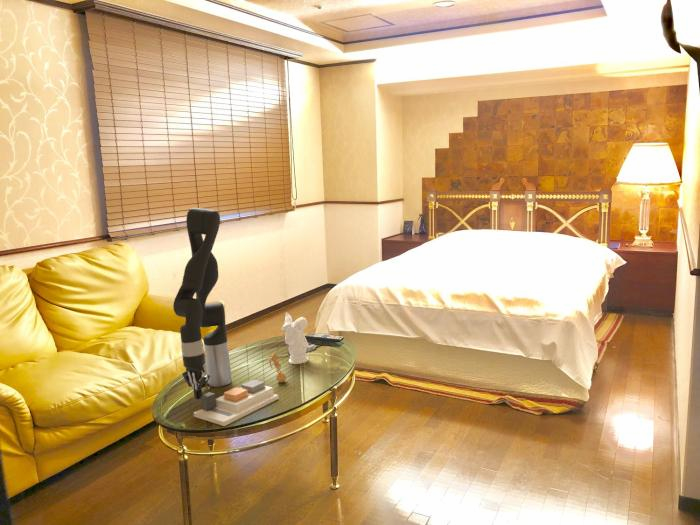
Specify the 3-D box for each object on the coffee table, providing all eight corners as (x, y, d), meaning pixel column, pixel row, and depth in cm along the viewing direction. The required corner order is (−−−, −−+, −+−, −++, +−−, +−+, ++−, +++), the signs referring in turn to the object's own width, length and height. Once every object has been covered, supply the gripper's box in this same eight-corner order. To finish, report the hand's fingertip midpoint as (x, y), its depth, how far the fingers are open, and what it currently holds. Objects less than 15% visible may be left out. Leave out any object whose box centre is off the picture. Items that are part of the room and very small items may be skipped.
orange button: (224, 401, 206) (223, 392, 206) (237, 395, 211) (236, 387, 210) (235, 404, 203) (234, 395, 202) (248, 398, 207) (247, 389, 207)
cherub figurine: (314, 361, 253) (310, 312, 250) (292, 369, 245) (288, 319, 241) (296, 355, 262) (292, 309, 258) (274, 363, 253) (270, 315, 249)
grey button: (242, 392, 213) (241, 384, 212) (254, 387, 217) (253, 379, 217) (253, 395, 209) (252, 387, 209) (265, 390, 214) (264, 382, 213)
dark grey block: (202, 409, 203) (200, 395, 203) (211, 405, 206) (209, 392, 206) (207, 410, 201) (206, 397, 201) (216, 406, 205) (215, 393, 204)
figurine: (280, 386, 225) (277, 357, 223) (267, 385, 228) (264, 356, 226) (291, 379, 232) (288, 350, 230) (279, 377, 235) (276, 349, 233)
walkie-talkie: (301, 357, 260) (324, 344, 277) (300, 348, 260) (323, 335, 277) (285, 355, 265) (309, 343, 282) (284, 346, 264) (308, 334, 281)
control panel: (194, 416, 202) (192, 405, 201) (248, 391, 222) (247, 381, 222) (224, 426, 192) (222, 414, 192) (278, 398, 212) (277, 388, 212)
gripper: (213, 351, 204) (218, 398, 206) (189, 347, 212) (195, 392, 214) (196, 357, 198) (202, 405, 200) (172, 353, 206) (178, 399, 208)
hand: (198, 398), depth 207 cm, fingers closed
